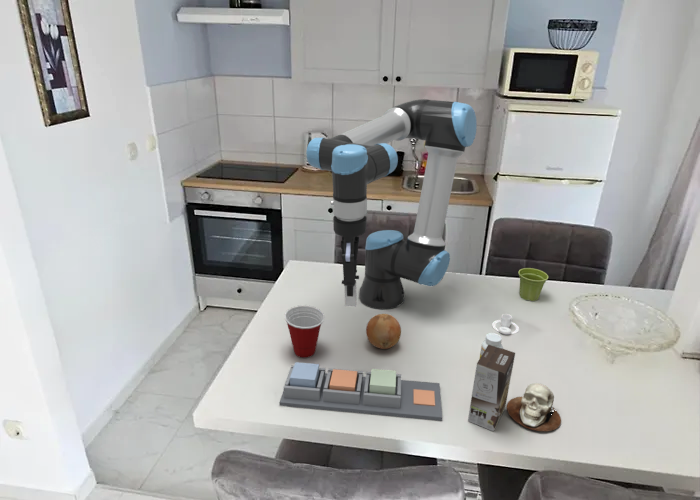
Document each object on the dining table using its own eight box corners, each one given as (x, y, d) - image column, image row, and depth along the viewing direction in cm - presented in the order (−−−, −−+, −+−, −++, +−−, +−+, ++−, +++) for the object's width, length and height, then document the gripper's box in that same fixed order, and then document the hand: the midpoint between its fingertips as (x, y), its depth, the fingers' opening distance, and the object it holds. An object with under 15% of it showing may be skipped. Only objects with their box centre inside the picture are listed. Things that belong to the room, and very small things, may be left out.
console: (439, 386, 122) (440, 373, 120) (441, 420, 111) (443, 407, 109) (290, 373, 126) (290, 360, 124) (279, 405, 115) (278, 392, 113)
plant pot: (527, 287, 171) (531, 265, 167) (549, 299, 163) (554, 276, 160) (508, 294, 166) (512, 271, 162) (531, 306, 159) (535, 283, 155)
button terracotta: (357, 381, 120) (357, 371, 119) (354, 397, 115) (354, 387, 114) (333, 378, 121) (333, 369, 120) (329, 395, 116) (329, 385, 114)
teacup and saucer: (507, 339, 142) (510, 327, 140) (484, 328, 147) (486, 316, 146) (524, 329, 147) (526, 317, 146) (501, 318, 153) (503, 307, 151)
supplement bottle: (481, 373, 127) (485, 342, 123) (476, 360, 132) (480, 331, 128) (501, 373, 127) (507, 343, 123) (496, 361, 132) (501, 331, 128)
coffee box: (494, 432, 108) (505, 374, 101) (466, 421, 111) (475, 363, 105) (506, 408, 115) (516, 352, 109) (479, 398, 118) (488, 343, 112)
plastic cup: (314, 368, 128) (314, 329, 123) (278, 358, 131) (276, 320, 127) (331, 345, 137) (331, 309, 132) (297, 337, 141) (295, 301, 136)
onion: (393, 333, 143) (395, 304, 139) (404, 353, 134) (407, 322, 130) (361, 337, 141) (362, 308, 137) (371, 358, 132) (372, 327, 128)
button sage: (395, 380, 119) (396, 370, 118) (394, 397, 114) (395, 387, 112) (371, 378, 120) (371, 368, 118) (369, 394, 114) (369, 384, 113)
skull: (556, 441, 105) (530, 399, 105) (517, 446, 112) (493, 408, 113) (573, 409, 113) (549, 371, 114) (536, 416, 121) (513, 381, 121)
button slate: (319, 374, 121) (319, 364, 120) (314, 390, 116) (314, 379, 114) (295, 372, 122) (295, 362, 120) (290, 387, 116) (289, 377, 115)
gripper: (336, 204, 115) (338, 290, 126) (329, 226, 104) (332, 318, 114) (368, 205, 115) (367, 291, 125) (364, 227, 103) (364, 320, 113)
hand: (350, 304), depth 119 cm, fingers closed
